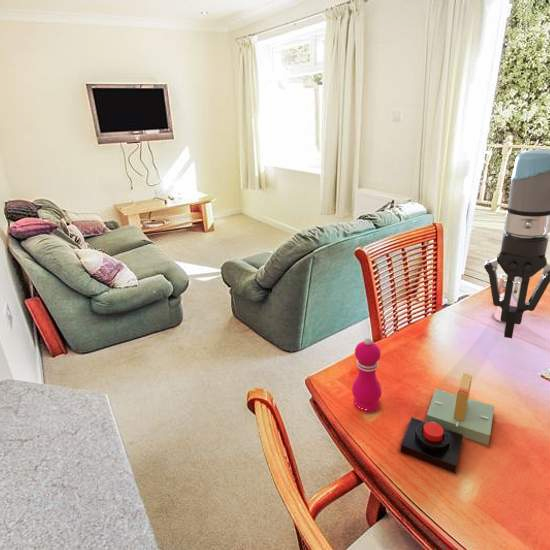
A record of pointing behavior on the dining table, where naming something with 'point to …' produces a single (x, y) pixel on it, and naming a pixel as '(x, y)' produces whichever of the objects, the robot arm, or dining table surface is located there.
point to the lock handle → (462, 396)
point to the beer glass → (502, 290)
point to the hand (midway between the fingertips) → (508, 334)
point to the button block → (432, 446)
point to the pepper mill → (367, 376)
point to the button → (433, 432)
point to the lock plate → (474, 419)
